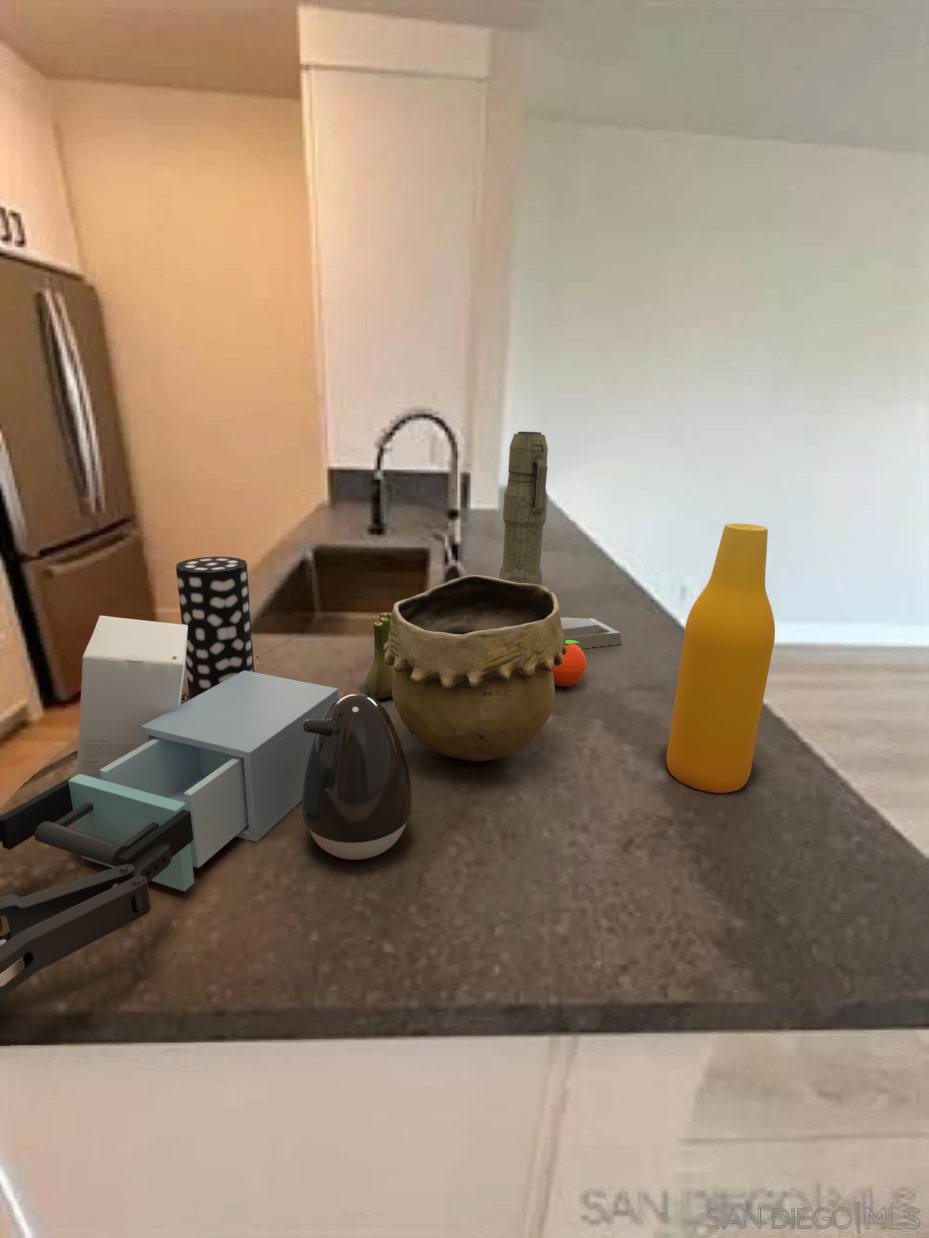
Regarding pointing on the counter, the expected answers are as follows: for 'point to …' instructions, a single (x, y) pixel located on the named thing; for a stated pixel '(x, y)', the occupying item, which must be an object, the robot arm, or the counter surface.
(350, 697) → the pump dispenser
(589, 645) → the soap mold
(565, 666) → the clementine
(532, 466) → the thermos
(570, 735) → the counter surface
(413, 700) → the clay pot
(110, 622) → the rectangular carton
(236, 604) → the white-spotted black cylinder
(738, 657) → the beer bottle
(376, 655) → the fennel bulb
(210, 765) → the mint green drawer
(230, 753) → the small drawer unit
